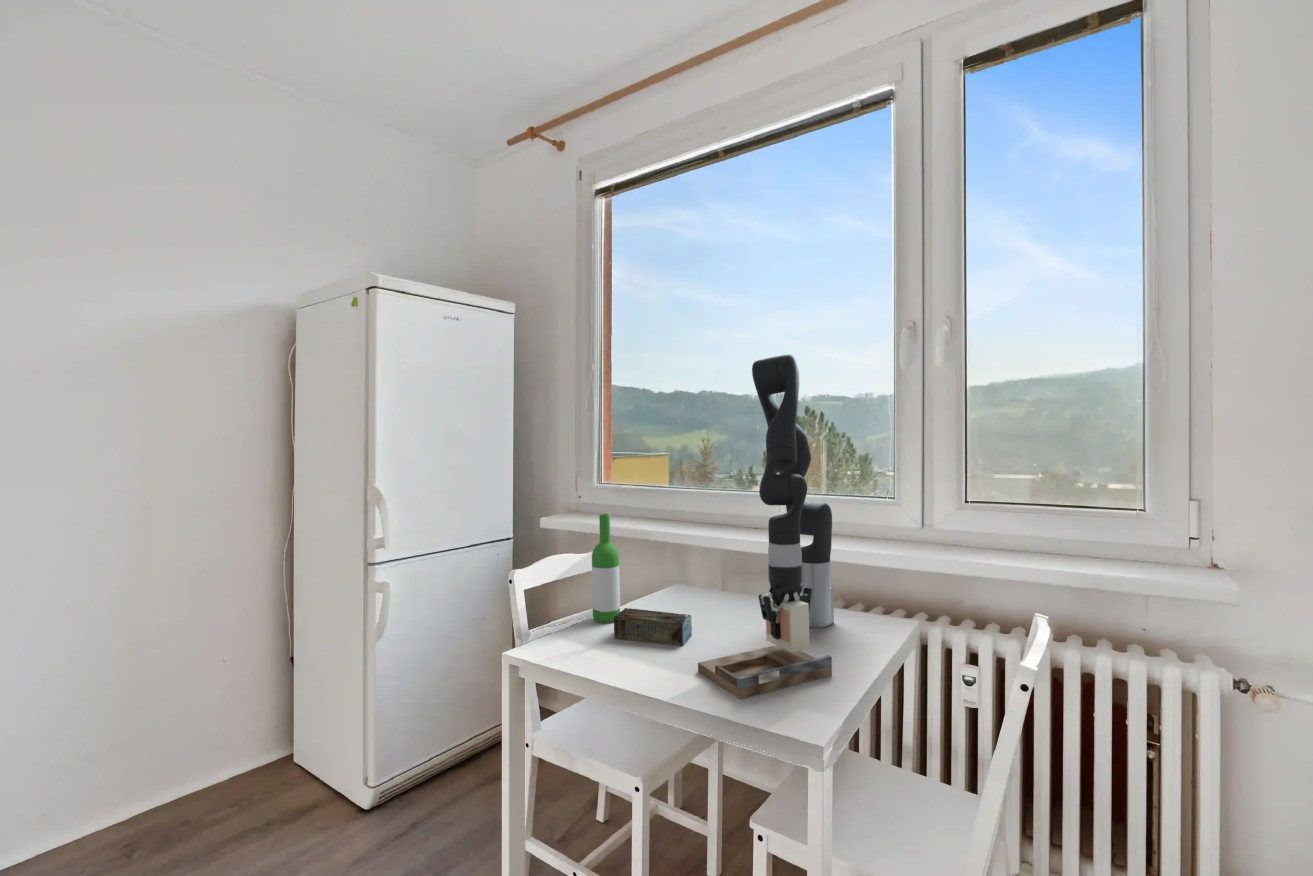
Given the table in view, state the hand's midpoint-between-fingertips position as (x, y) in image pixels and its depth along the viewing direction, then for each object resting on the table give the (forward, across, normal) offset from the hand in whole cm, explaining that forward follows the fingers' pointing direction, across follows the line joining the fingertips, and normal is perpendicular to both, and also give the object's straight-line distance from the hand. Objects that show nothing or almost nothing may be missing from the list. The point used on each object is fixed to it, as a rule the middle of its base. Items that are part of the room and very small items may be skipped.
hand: (786, 635), depth 138 cm
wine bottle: (+6, +23, -51) cm, 56 cm away
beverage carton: (+7, +18, -31) cm, 36 cm away
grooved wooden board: (+6, +8, +2) cm, 11 cm away
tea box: (+2, 0, 0) cm, 2 cm away
